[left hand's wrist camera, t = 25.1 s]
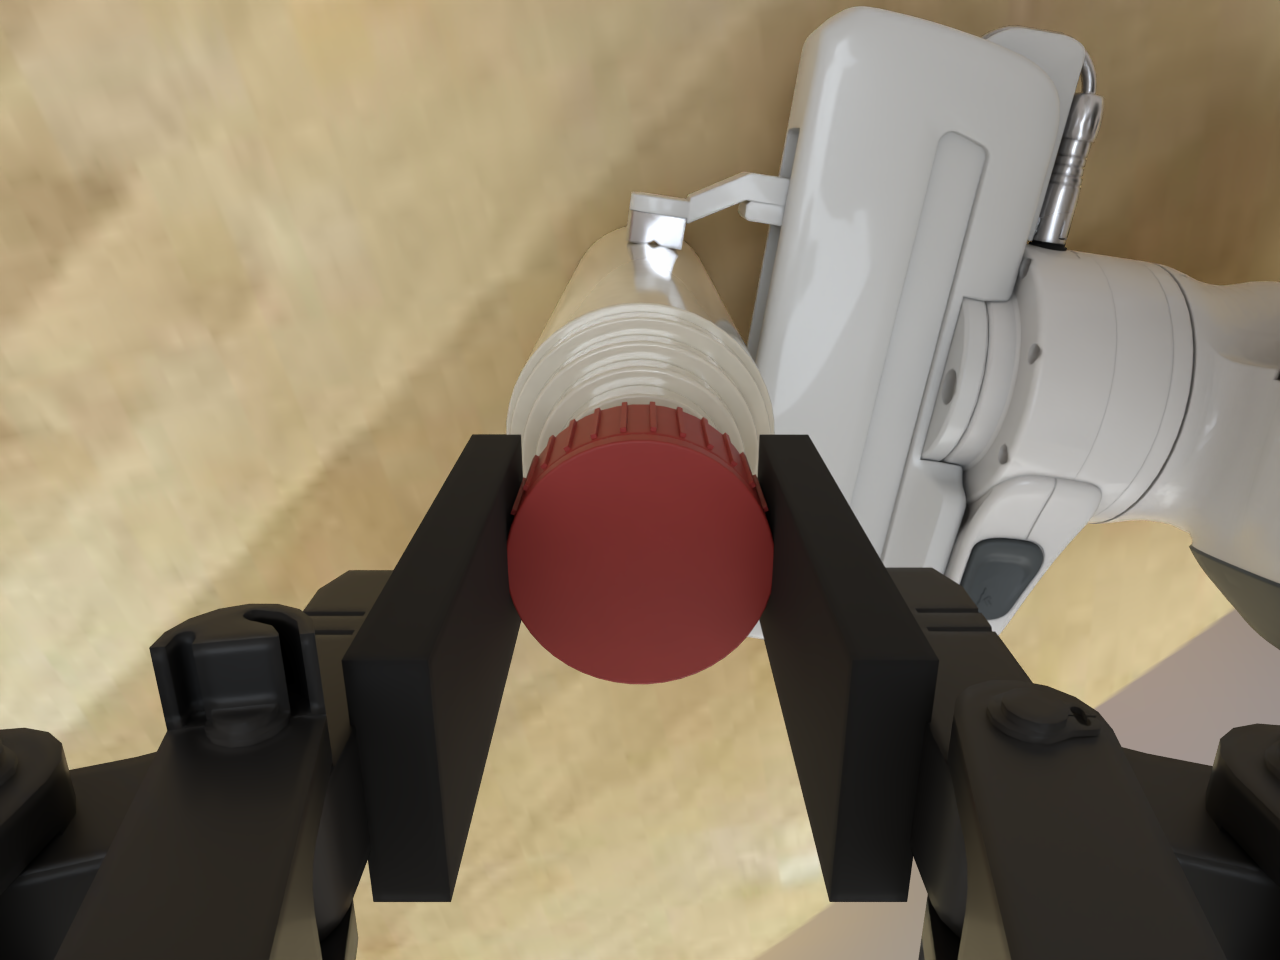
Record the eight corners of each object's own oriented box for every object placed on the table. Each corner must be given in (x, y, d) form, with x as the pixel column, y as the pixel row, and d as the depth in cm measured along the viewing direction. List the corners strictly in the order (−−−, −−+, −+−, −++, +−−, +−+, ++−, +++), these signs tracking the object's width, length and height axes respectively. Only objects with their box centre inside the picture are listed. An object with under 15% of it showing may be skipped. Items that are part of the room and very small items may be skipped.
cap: (730, 644, 15) (742, 709, 13) (500, 603, 15) (481, 663, 13) (790, 426, 14) (812, 467, 12) (538, 376, 13) (523, 410, 12)
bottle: (698, 371, 36) (787, 722, 14) (564, 354, 36) (444, 683, 14) (719, 235, 35) (860, 392, 12) (579, 215, 34) (467, 342, 12)
